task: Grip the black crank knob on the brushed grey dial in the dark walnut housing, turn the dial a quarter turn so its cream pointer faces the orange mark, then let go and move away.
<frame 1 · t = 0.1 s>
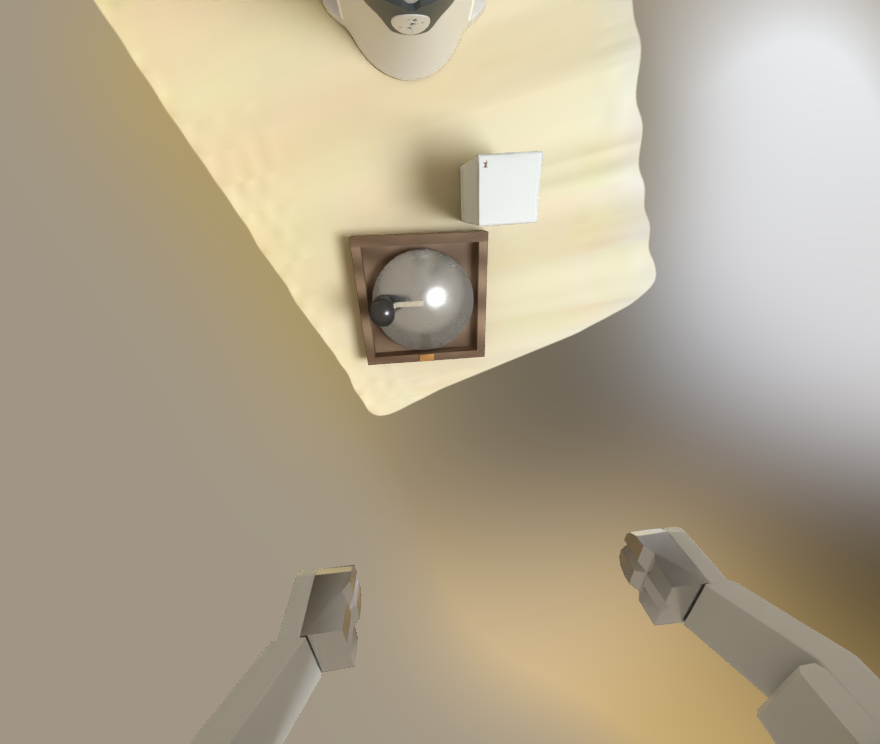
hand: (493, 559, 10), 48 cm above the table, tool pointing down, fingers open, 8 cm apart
dial: (424, 305, 50), point 5 cm above the table, hinge at 0.0°
dial housing: (422, 298, 54), on the table
supplement box: (484, 193, 48), on the table
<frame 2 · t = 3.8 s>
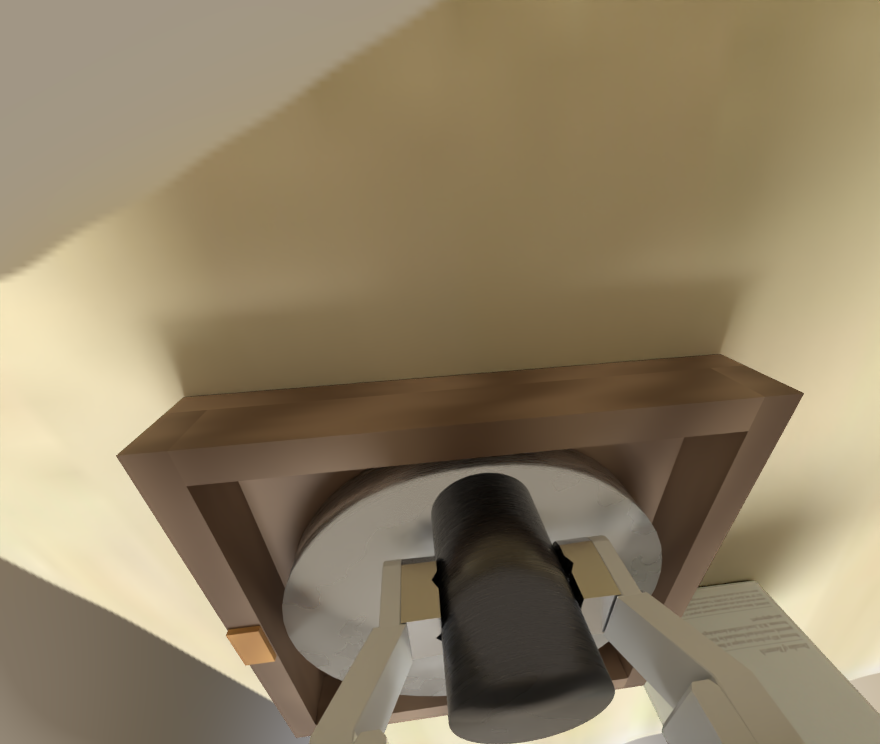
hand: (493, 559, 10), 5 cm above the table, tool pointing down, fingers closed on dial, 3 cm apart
dial: (487, 656, 13), point 5 cm above the table, hinge at 0.0°, touching gripper
dial housing: (467, 548, 17), on the table
supplement box: (682, 613, 22), on the table
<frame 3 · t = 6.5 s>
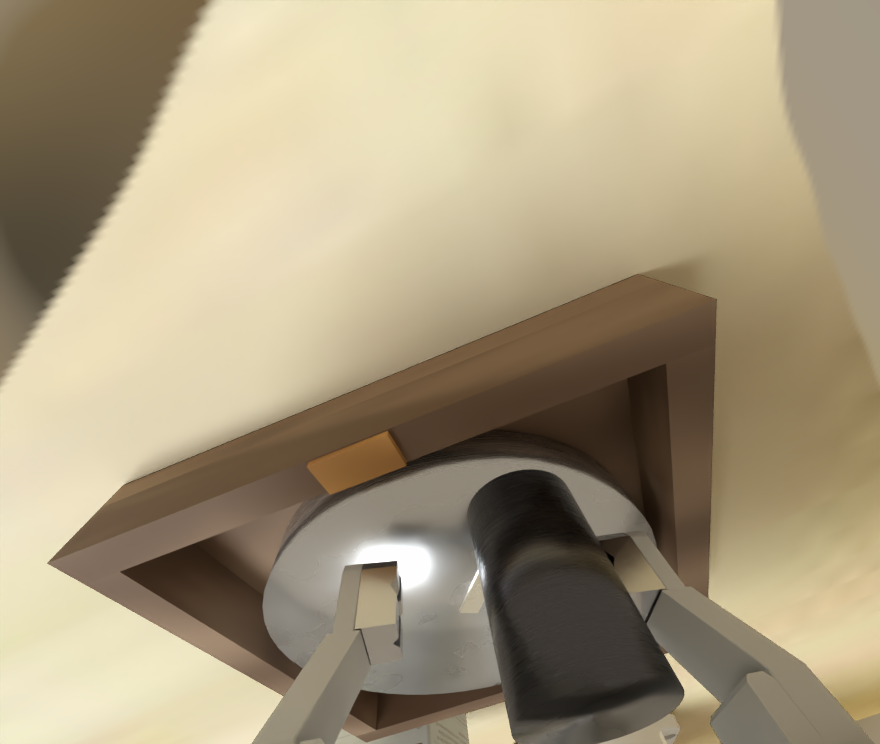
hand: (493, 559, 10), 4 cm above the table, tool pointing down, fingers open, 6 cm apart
dial: (475, 657, 12), point 5 cm above the table, hinge at 54.4°, touching gripper
dial housing: (457, 545, 16), on the table
supplement box: (402, 696, 24), on the table
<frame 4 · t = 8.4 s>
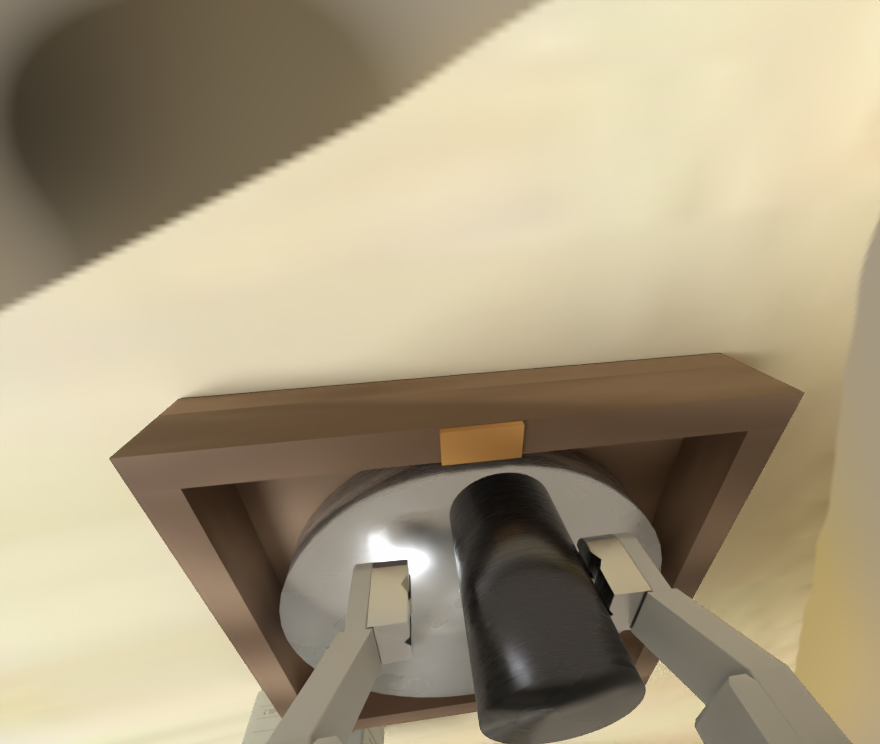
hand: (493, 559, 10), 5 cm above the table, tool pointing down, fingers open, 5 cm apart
dial: (485, 658, 13), point 5 cm above the table, hinge at 83.3°
dial housing: (466, 549, 17), on the table
supplement box: (326, 698, 23), on the table
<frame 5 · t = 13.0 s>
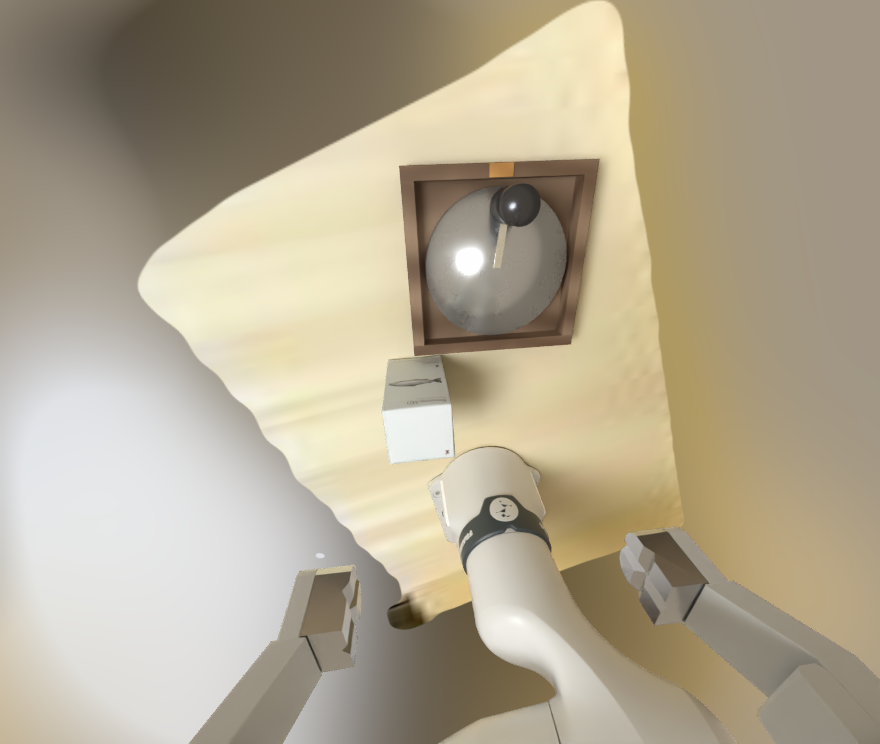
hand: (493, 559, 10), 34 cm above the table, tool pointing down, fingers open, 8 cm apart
dial: (500, 270, 35), point 4 cm above the table, hinge at 83.3°
dial housing: (491, 263, 39), on the table
supplement box: (416, 379, 46), on the table
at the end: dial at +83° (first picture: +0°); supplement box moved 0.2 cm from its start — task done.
